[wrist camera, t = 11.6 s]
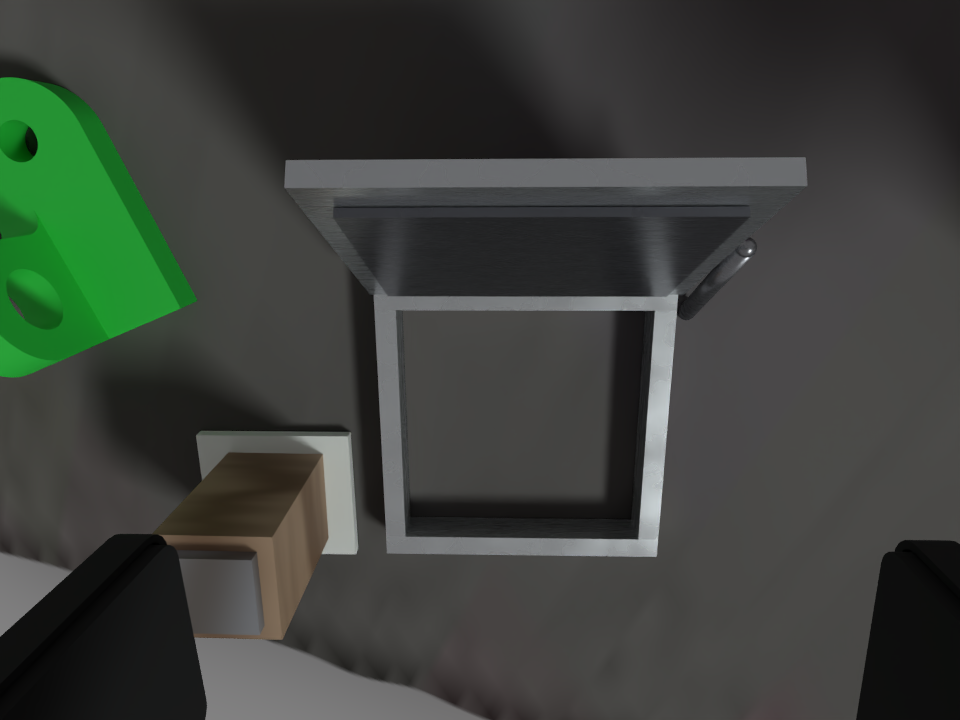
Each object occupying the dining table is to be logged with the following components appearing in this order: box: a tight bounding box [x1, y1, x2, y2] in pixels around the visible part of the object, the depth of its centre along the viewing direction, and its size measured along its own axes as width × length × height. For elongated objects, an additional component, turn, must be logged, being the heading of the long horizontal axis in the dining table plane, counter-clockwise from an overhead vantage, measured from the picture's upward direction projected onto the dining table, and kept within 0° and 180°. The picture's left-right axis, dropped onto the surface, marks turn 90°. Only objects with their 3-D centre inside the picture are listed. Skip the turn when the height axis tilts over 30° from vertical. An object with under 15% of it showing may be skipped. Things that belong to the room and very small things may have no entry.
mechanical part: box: [0, 77, 197, 377], centre depth 28 cm, size 12×6×8 cm, turn 22°
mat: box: [196, 431, 358, 554], centre depth 36 cm, size 8×7×1 cm
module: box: [153, 452, 329, 640], centre depth 31 cm, size 5×5×9 cm
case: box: [284, 157, 807, 557], centre depth 27 cm, size 15×20×14 cm
